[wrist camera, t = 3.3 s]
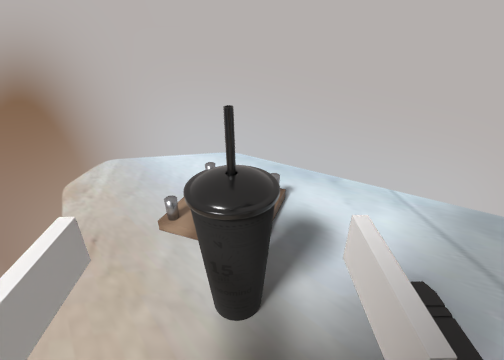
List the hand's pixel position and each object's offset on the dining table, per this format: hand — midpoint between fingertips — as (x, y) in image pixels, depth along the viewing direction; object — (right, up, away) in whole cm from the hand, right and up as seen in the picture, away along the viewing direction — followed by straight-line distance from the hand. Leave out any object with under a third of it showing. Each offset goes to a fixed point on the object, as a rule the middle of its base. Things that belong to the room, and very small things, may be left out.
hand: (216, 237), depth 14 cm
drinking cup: (0, -10, +16) cm, 18 cm away
